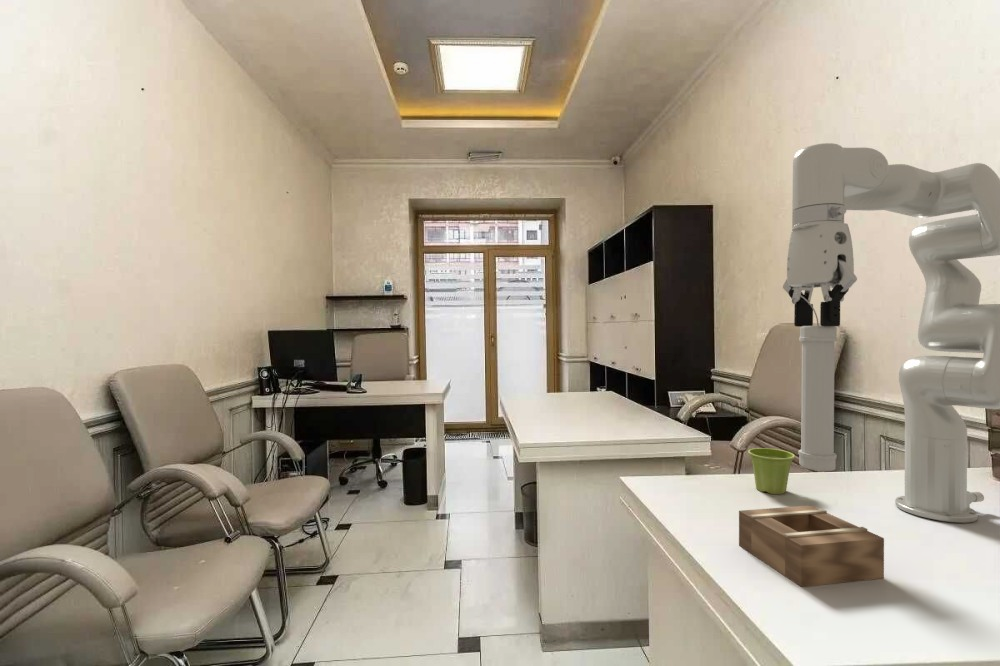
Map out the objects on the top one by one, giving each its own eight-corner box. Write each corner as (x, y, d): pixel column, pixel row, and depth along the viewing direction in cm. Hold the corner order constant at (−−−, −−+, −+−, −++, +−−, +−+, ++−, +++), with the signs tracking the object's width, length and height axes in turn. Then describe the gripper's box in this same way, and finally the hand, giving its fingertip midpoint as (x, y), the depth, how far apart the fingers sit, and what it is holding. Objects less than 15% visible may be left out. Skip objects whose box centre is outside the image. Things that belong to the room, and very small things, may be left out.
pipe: (842, 473, 82) (843, 291, 82) (800, 470, 83) (801, 291, 83) (828, 464, 87) (829, 293, 87) (788, 462, 89) (790, 294, 89)
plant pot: (803, 497, 110) (803, 458, 110) (760, 497, 110) (760, 458, 110) (780, 484, 119) (780, 448, 119) (740, 484, 120) (740, 448, 120)
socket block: (810, 539, 88) (810, 503, 88) (883, 578, 74) (883, 536, 74) (739, 545, 86) (738, 508, 86) (801, 586, 72) (801, 543, 72)
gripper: (882, 209, 77) (880, 326, 77) (799, 231, 94) (798, 327, 94) (839, 206, 76) (838, 325, 76) (763, 229, 93) (762, 326, 93)
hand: (816, 325), depth 85 cm, fingers closed on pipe, 5 cm apart
